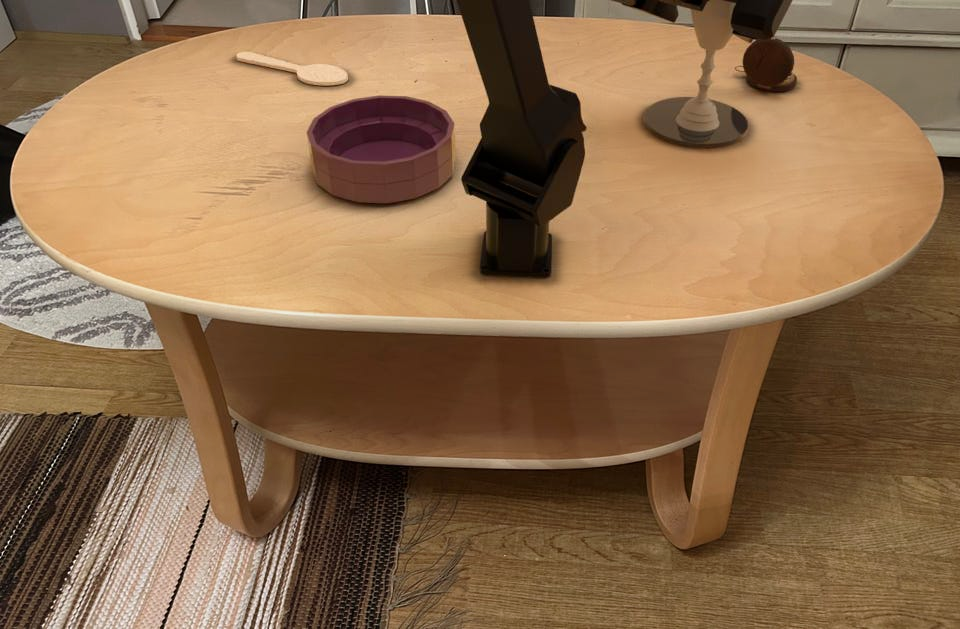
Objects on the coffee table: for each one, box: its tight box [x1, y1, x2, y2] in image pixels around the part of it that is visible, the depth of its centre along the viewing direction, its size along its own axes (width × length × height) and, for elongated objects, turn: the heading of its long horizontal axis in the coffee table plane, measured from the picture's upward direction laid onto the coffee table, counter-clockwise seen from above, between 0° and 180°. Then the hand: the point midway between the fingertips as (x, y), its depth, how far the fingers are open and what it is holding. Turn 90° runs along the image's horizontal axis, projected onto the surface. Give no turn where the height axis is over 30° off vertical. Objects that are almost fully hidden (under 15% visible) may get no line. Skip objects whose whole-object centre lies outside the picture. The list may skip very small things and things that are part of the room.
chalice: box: [676, 0, 736, 131], centre depth 88 cm, size 7×7×18 cm
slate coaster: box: [643, 96, 749, 149], centre depth 94 cm, size 12×12×1 cm
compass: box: [734, 35, 798, 92], centre depth 100 cm, size 8×8×7 cm
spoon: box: [235, 51, 349, 86], centre depth 106 cm, size 5×18×1 cm, turn 62°
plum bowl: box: [306, 94, 456, 204], centre depth 85 cm, size 15×15×5 cm
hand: (712, 28), depth 87 cm, fingers open, 9 cm apart
